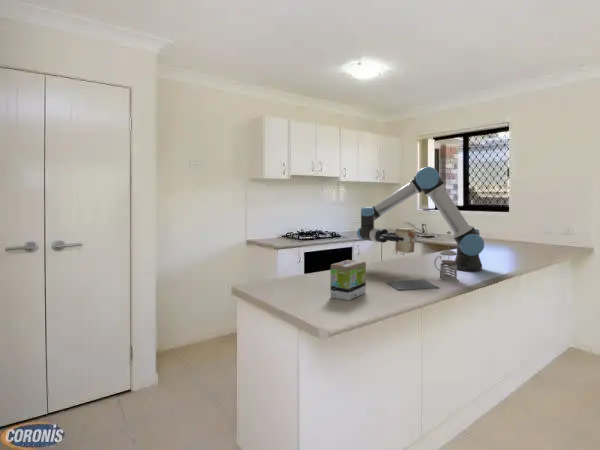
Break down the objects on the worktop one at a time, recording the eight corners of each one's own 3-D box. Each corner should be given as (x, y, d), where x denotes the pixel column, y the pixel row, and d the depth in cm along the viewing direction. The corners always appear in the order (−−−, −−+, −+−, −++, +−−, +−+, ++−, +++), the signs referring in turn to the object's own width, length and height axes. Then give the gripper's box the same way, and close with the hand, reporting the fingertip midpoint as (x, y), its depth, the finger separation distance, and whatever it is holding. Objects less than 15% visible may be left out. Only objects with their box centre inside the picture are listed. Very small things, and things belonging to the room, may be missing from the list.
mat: (424, 280, 185) (424, 279, 185) (439, 288, 169) (439, 287, 169) (386, 282, 182) (386, 281, 182) (398, 290, 167) (398, 289, 167)
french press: (461, 282, 178) (461, 232, 176) (436, 282, 180) (436, 232, 178) (456, 278, 187) (457, 230, 185) (433, 277, 190) (433, 230, 188)
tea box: (350, 301, 152) (349, 266, 151) (329, 297, 158) (329, 264, 157) (366, 293, 164) (366, 260, 163) (347, 290, 170) (346, 258, 169)
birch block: (401, 250, 195) (402, 228, 194) (414, 252, 188) (414, 229, 187) (395, 251, 192) (395, 228, 191) (408, 253, 185) (408, 229, 184)
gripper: (390, 240, 210) (424, 244, 190) (367, 243, 200) (401, 248, 180) (390, 227, 209) (424, 230, 190) (367, 229, 199) (401, 233, 180)
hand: (412, 239), depth 185 cm, fingers closed on birch block, 5 cm apart
